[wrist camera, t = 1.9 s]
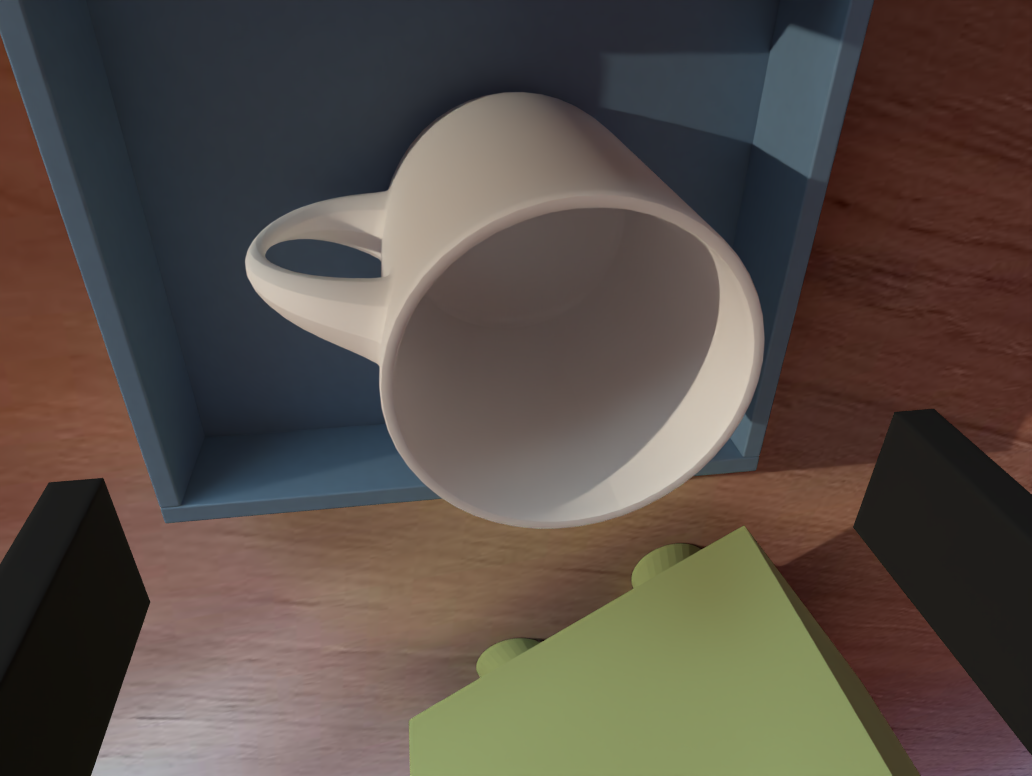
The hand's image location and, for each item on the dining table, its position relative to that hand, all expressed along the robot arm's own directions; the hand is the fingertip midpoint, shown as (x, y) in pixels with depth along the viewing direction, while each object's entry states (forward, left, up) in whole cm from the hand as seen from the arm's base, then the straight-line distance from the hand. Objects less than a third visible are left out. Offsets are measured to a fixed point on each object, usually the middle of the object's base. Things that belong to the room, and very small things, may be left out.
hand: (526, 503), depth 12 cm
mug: (0, 0, -15) cm, 15 cm away
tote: (0, 0, -15) cm, 15 cm away
